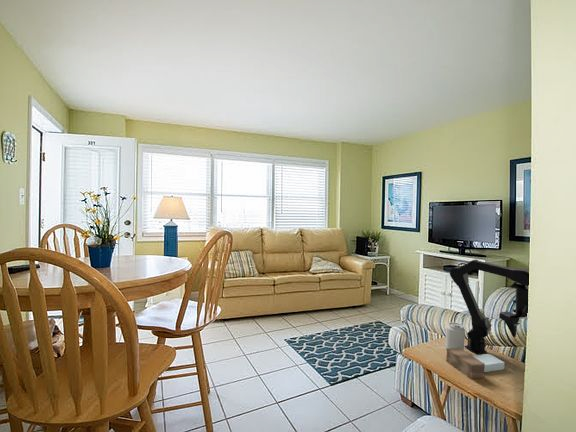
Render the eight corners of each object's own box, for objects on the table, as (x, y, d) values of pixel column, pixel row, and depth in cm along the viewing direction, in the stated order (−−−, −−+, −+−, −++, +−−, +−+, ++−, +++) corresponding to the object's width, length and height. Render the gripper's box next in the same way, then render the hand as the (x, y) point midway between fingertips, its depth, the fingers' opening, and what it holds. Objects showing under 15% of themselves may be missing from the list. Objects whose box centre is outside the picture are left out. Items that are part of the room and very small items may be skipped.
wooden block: (446, 361, 131) (447, 348, 130) (457, 359, 132) (458, 347, 132) (471, 379, 118) (472, 365, 118) (483, 377, 120) (484, 363, 119)
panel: (466, 363, 130) (466, 356, 130) (488, 360, 133) (489, 353, 132) (480, 372, 123) (481, 365, 123) (504, 369, 126) (504, 362, 126)
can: (455, 355, 136) (457, 329, 135) (441, 347, 143) (443, 322, 142) (467, 352, 139) (469, 326, 138) (452, 344, 146) (454, 320, 145)
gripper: (522, 307, 118) (522, 346, 119) (562, 304, 121) (562, 342, 122) (498, 298, 129) (498, 334, 130) (535, 295, 132) (535, 331, 133)
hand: (523, 335), depth 128 cm, fingers open, 9 cm apart
